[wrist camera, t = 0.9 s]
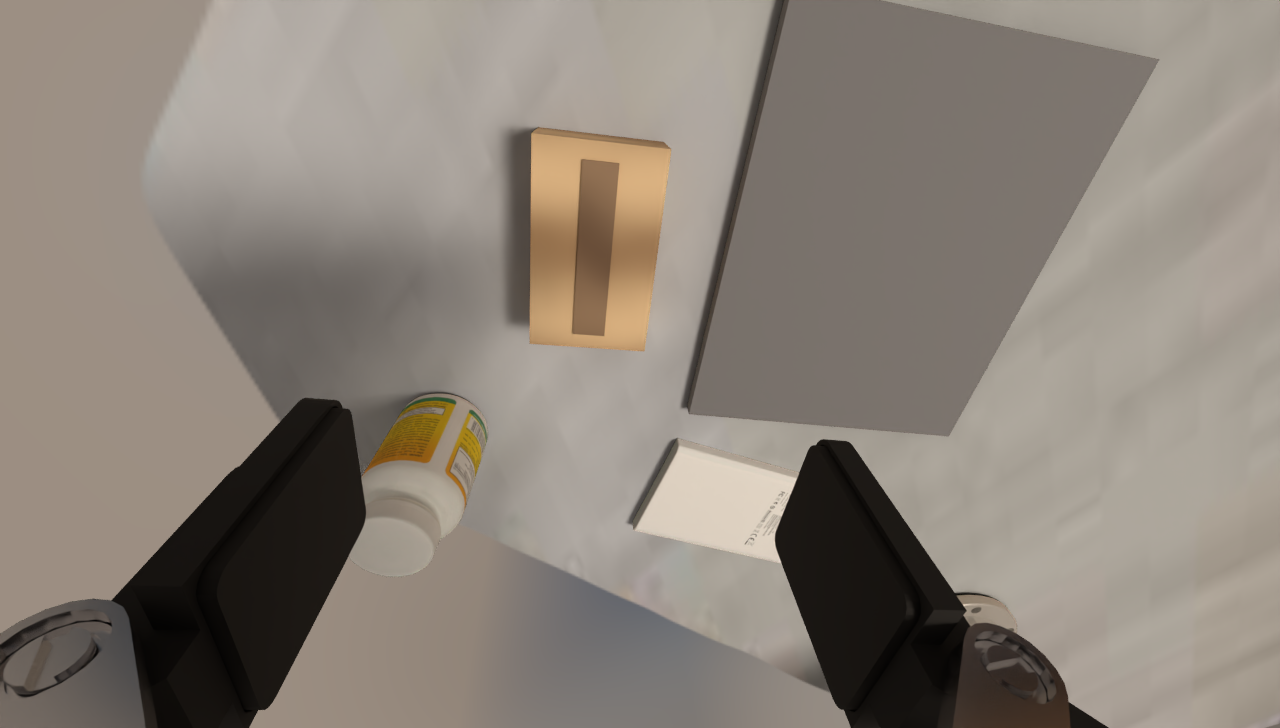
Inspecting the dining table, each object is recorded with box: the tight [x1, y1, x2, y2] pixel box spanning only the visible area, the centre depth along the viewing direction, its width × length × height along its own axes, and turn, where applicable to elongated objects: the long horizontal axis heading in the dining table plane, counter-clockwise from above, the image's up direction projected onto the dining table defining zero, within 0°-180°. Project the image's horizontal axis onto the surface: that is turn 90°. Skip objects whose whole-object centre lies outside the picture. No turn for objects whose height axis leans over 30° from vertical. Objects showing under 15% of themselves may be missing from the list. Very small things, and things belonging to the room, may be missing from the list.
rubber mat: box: [687, 0, 1159, 436], centre depth 28 cm, size 22×18×1 cm
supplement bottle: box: [348, 394, 488, 577], centre depth 27 cm, size 5×5×10 cm
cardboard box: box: [530, 127, 671, 351], centre depth 25 cm, size 10×6×3 cm, turn 173°
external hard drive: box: [633, 438, 799, 563], centre depth 36 cm, size 2×8×12 cm
